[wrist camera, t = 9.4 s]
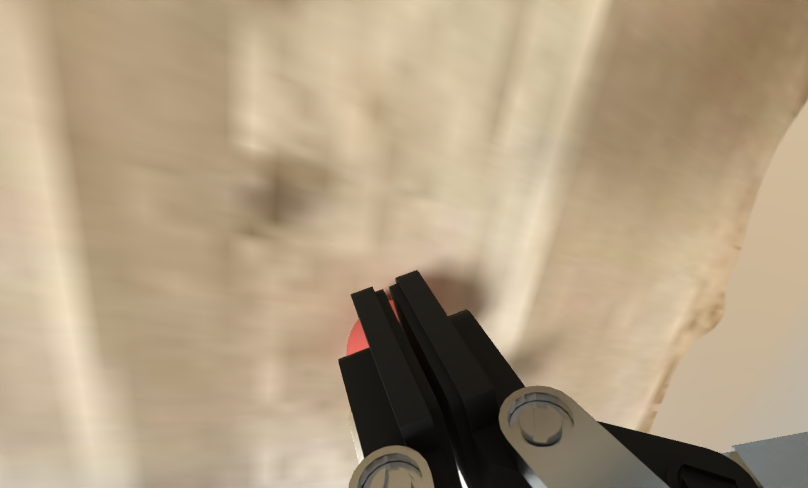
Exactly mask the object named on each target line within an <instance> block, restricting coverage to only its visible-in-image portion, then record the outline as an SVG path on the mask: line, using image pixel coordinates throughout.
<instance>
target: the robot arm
mask: <svg viewBox="0 0 808 488" xmlns="http://www.w3.org/2000/svg"><path fill="white" fill-rule="evenodd" d="M389 288H390V292H391V296H392V299H393V302H394V306H395V309H396V312H397V316H398V319H399V321H398V319H397V317H396V315H395V313H394V311H393V309H392V307H391V305H390V303H389V300H388V298H387V296H386V294H385V292H384V290H383V289H382V290H379V291H376V292H375V291H374V289H373V287H370V288H367V289H364V290H361V291H359V292H356V293H353V294H351V297H352V300H353V303H354V306H355V308H356V311H357V314H358V317H359V320H360V323H361V325H362V328H363V331H364V334H365V337H366V340H367V342H368V345H369V348H366V349H363V350H361V351H358V352H356V353H353V354H351V355H348V356H345V357H343V358H340V359H338V361H339V366H340V369H341V373H342V377H343V381H344V385H345V388H346V392H347V396H348V400H349V403H350V407H351V411H352V415H353V418H354V422H355V426H356V430H357V433H358V437H359V441H360V445H361V449H362V452H363V456H364V459H363V460H362V461H361V463H360V464H359V465H358V467H357V468H356V469H355V471H354V473H353V475H352V478H351V480H350V482H349V488H463V487H462V484H461V480H460V476H459V472H458V469H457V466H458V468H459V470H460V472H461V475H462V477H463V479H464V481H465V483H466V485H467V488H808V432H804V433H799V434H793V435H788V436H782V437H777V438H772V439H767V440H761V441H756V442H750V443H745V444H740V445H734V446H732V448H731V452H727V453H722V454H721V453H718V452H715V451H712V450H710V449H707V448H703V447H699V446H695V445H691V444H687V443H683V442H679V441H675V440H671V439H667V438H663V437H659V436H654V435H651V434H647V433H643V432H639V431H635V430H631V429H627V428H623V427H619V426H615V425H611V424H607V423H603V422H599V421H596V420H595V419H594V418H593V417H592V416H591V415H589V414H588V413H587V412H586V411H585V410H584V409H583V408H582V407H581V406H580V405H578V404H577V403H576V402H575V401H574V400H573V399H572V398H570V397H569V396H568V395H566V394H565V393H563V392H562V391H559V390H557V389H554V388H551V387H546V386H530V387H525V386H524V384H523V383H522V382H521V380H520V379H519V378H518V376H517V375H516V374H515V372H514V371H513V370H512V368H511V367H510V365H509V364H508V363H507V361H506V360H505V359H504V357H503V356H502V355H501V353H500V352H499V350H498V349H497V348H496V346H495V345H494V344H493V342H492V341H491V340H490V338H489V337H488V335H487V334H486V333H485V331H484V330H483V329H482V327H481V326H480V325H479V323H478V322H477V321H476V319H475V318H474V316H473V315H472V314H471V313H470V312H469V311H468V310H464V311H461V312H459V313H456V314H453V315H451V316H447V315H446V313H445V311H444V310H443V308H442V307H441V305H440V304H439V302H438V301H437V299H436V298H435V296H434V295H433V293H432V292H431V290H430V288H429V287H428V285H427V284H426V282H425V281H424V279H423V278H422V276H421V275H420V273H419V272H418V271H417V270H416V271H413V272H410V273H408V274H405V275H402V276H399V277H397V278H396V284H395V285H393V286H390V287H389ZM456 464H457V465H456Z"/></svg>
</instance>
